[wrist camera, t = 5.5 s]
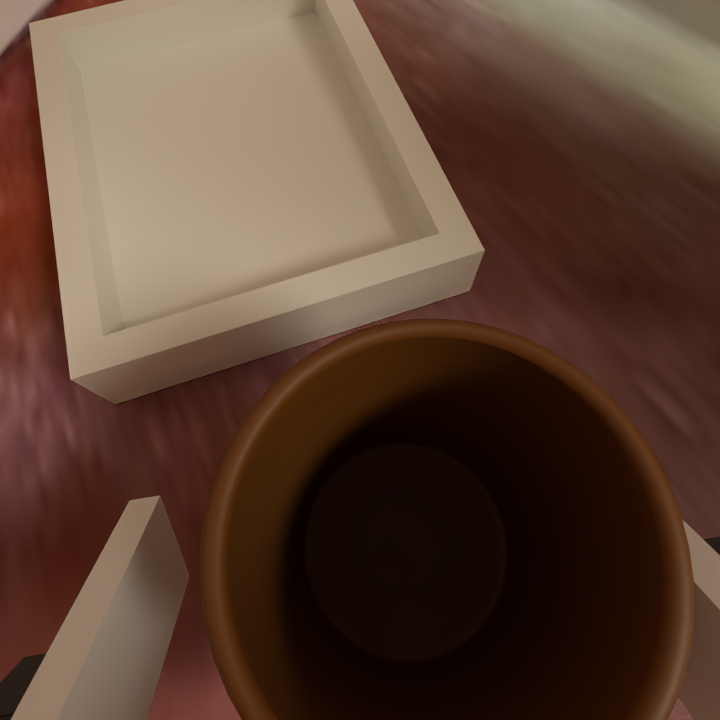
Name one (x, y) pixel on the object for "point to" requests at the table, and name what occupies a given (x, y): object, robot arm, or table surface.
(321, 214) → the tray
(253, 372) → the table surface
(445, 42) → the table surface
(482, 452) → the mug
